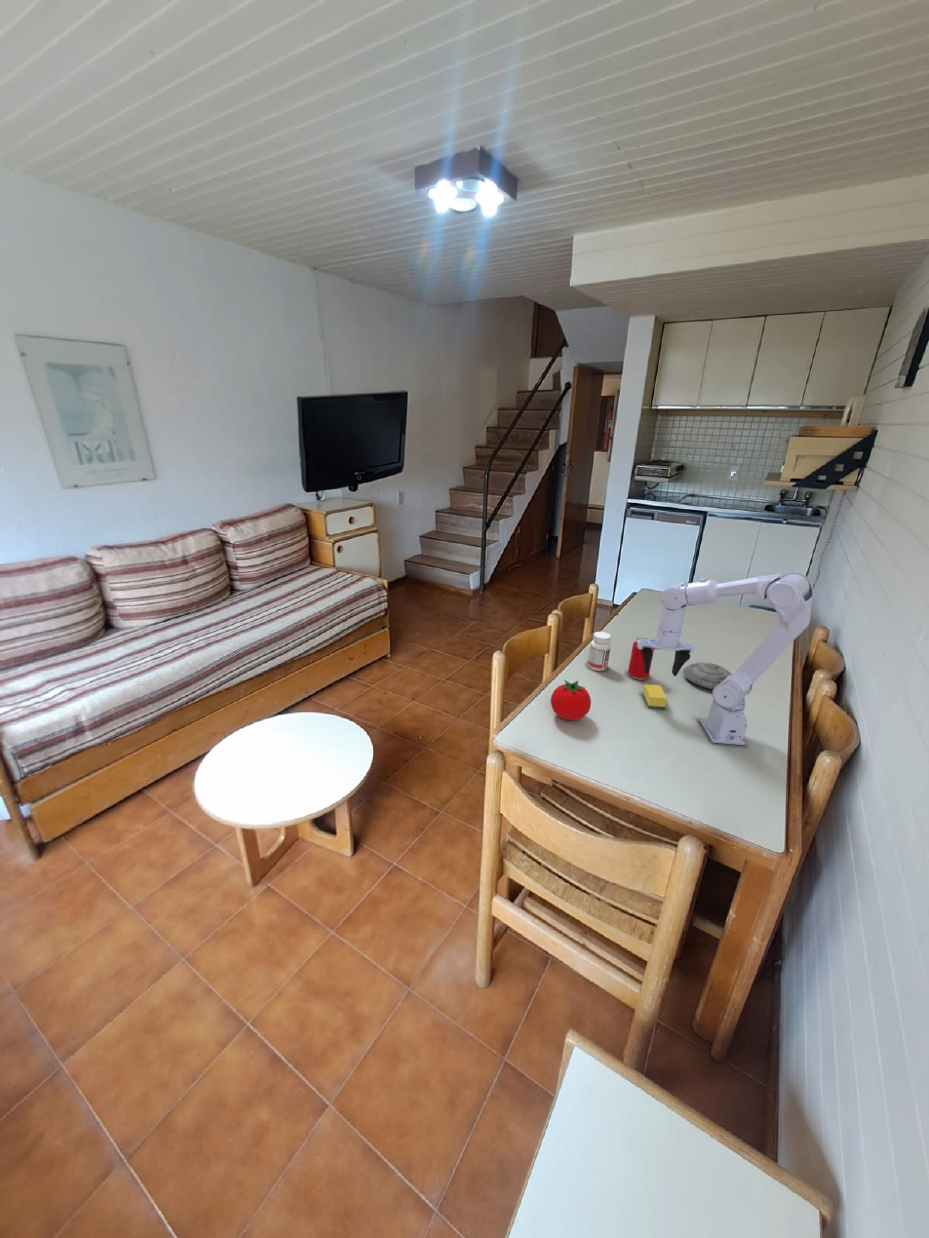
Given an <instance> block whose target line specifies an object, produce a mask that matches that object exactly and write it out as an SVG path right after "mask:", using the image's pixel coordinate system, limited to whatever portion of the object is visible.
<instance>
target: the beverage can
mask: <svg viewBox="0 0 929 1238" xmlns="http://www.w3.org/2000/svg"><path fill="white" fill-rule="evenodd" d="M638 640H650V638H647V637H636V638H635V640H634V641H633V643H632V648H631V653H630V657H629V663H628V669H627V673H628V675H629V676H630V677H632V678H633V679H635V680H645V679H648V678H649V676H650V671H651V667H652V662H653V658H652V659H651V662H650V667H649V672H648V674H645V672H644V662H643V656H642V652H641V649H638V647H637V644H638ZM651 651H652V654H653V655H654V652H655V649H651Z"/></svg>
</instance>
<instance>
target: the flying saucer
mask: <svg viewBox="0 0 929 1238" xmlns="http://www.w3.org/2000/svg"><path fill="white" fill-rule="evenodd" d="M682 674H683V676H684V677H685V678H686V679H687V680H688V681H689V682H691V683H693V684H695V685H697V686H699V687H702V688H705V689H710V690H713V689H714V688H715V687H716V686H717V685H719V684H720V683H721V682H722V681H724V680H725V679H726V677H727V676H728V675H730V674H732V673H731V672H730V670H727V669H726V668H724V667H723V666H721V665H719V664H716V663H712V662H704V661H702V662H701V661H699V662H694V663H691V664H689V665H686V667H684V668H683V670H682Z"/></svg>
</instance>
